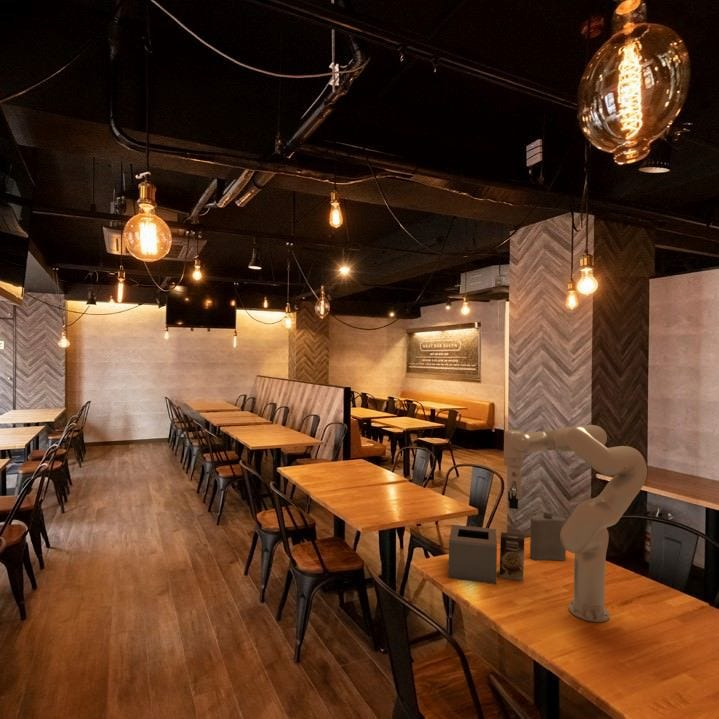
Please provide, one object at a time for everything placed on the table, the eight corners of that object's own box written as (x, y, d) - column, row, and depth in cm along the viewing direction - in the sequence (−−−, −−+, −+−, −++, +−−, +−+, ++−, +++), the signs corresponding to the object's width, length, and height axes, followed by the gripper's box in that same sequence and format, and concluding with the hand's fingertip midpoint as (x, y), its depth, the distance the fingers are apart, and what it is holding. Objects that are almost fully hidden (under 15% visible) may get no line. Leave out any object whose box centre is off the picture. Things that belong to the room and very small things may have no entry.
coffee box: (499, 577, 191) (500, 536, 191) (499, 571, 197) (500, 531, 197) (523, 581, 188) (524, 539, 188) (523, 574, 194) (524, 534, 194)
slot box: (496, 584, 185) (496, 544, 185) (448, 578, 190) (449, 539, 190) (495, 564, 203) (495, 529, 203) (451, 559, 207) (452, 524, 207)
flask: (561, 555, 214) (562, 510, 214) (567, 561, 208) (568, 514, 208) (527, 555, 214) (528, 509, 214) (532, 560, 208) (533, 514, 208)
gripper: (525, 467, 183) (524, 512, 183) (522, 458, 200) (521, 499, 200) (504, 465, 185) (503, 510, 185) (503, 456, 202) (502, 498, 202)
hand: (512, 504), depth 193 cm, fingers open, 9 cm apart
